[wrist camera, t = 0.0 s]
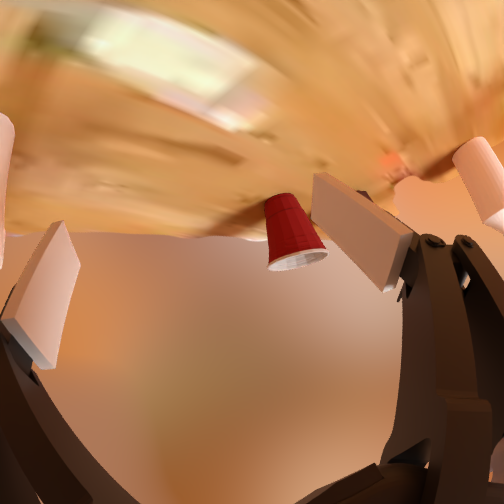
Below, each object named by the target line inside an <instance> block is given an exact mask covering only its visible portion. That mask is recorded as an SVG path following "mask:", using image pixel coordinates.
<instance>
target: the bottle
mask: <svg viewBox="0 0 504 504" xmlns="http://www.w3.org/2000/svg"><path fill="white" fill-rule="evenodd" d="M452 161H453V163H454V165H455V167H456V169H457V170H458V172H459V174H460V176H461V178H462V180H463V181H464V184H465V185H466V188H467V190H468V191H469V193H470V196H471V198H472V200H473V202H474V204H475V207H476V209H477V211H478V213H479V216H480V218H481V220H482V223H483V224H485V225H487V226H490V227H492V228H494V229H495V230H497V231H499V232H500V233H502V234H503V235H504V168H503V166H502V165H501V163H500V161H499V160H498V158H497V156H496V155H495V154H494V152H493V150H492V148H491V147H490V145H489V144H488V142H487V141H486V139H485V138H484V137H476V138H473V139H471V140H469V141H468V142H466V143H465V144H463V145H462V146H461V147H460V148H459V149H458V150H457V151H456V152H455V154H454V155H453V157H452Z"/></svg>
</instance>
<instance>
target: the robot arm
mask: <svg viewBox="0 0 504 504" xmlns="http://www.w3.org/2000/svg"><path fill="white" fill-rule="evenodd" d="M311 220H312V221H313V222H314V223H315V224H316V225H318V226H319V227H320V228H321V229H322V230H323V231H324V232H325V233H326V234H327V235H328V236H329V237H330V238H331V239H332V240H333V241H334V242H335V243H336V244H337V245H338V246H339V247H340V248H341V249H342V250H343V251H344V252H345V253H346V255H347V256H348V257H349V258H350V259H351V260H352V261H353V262H354V263H355V264H356V265H357V266H358V267H359V268H360V269H361V270H362V271H363V272H364V273H365V274H366V275H367V276H368V278H369V279H370V280H371V281H372V282H373V283H374V284H375V285H376V286H377V287H378V288H379V290H380V291H381V292H382V293H383V292H386V291H389V290H391V289H394V288H395V287H396V285H397V282H398V279H399V276H400V277H401V278H402V279H403V280H404V284H403V286H402V289H401V291H400V294H399V296H398V299H397V302H399V301H400V299H401V298H402V300H403V301H402V307H403V330H402V331H403V332H402V357H401V372H400V382H399V392H398V400H397V407H396V415H395V420H394V426H393V431H392V434H391V436H390V438H389V440H388V442H387V443H386V445H385V447H384V450H383V453H382V456H381V460H380V464H379V465H377V466H376V464H375V463H373V464H371V465H369V466H367V467H365V468H363V469H361V470H359V471H357V472H355V473H353V474H350V475H348V476H346V477H344V478H342V479H340V480H338V481H335V482H333V483H331V484H328V485H326V486H324V487H321V488H319V489H317V490H315V491H313V492H312V493H311V494H309V495H307V496H306V497H304V498H303V499H301V500H300V501H298V502H296V503H295V504H504V281H503V280H502V278H501V276H500V275H499V273H498V272H497V270H496V269H495V267H494V266H493V265H492V263H491V262H490V260H489V259H488V258H487V256H486V255H485V253H484V252H483V251H482V249H481V248H480V247H479V245H478V244H477V243H476V242H475V241H474V240H472V239H471V238H470V237H467V236H466V235H465V236H464V235H457V236H456V237H455V240H454V243H453V245H446V243H445V242H444V241H443V240H442V239H440V238H439V237H437V236H434V235H432V234H422V235H421V236H420V235H419V234H417V233H416V232H415V231H413V230H412V229H411V228H409V227H408V226H407V225H405V224H404V223H403V222H401V221H400V220H399V219H397V218H395V217H394V216H393V215H392V214H390V213H389V212H387V211H385V210H383V209H382V208H380V207H379V206H377V205H376V204H374V203H373V202H371V201H370V200H368V199H367V198H365V197H364V196H362V195H361V194H359V193H358V192H356V191H355V190H353V189H352V188H350V187H349V186H347V185H345V184H344V183H342V182H341V181H339V180H337V179H336V178H334V177H333V176H331V175H329V174H328V173H326V172H325V173H314V177H313V193H312V208H311ZM80 266H81V264H80V261H79V259H78V257H77V254H76V252H75V250H74V247H73V245H72V242H71V239H70V237H69V234H68V232H67V229H66V226H65V223H64V220H62V221H58V222H55V223H52V224H51V225H50V227H49V228H48V230H47V231H46V233H45V234H44V236H43V238H42V239H41V241H40V242H39V244H38V246H37V247H36V249H35V251H34V252H33V254H32V256H31V258H30V259H29V261H28V263H27V265H26V267H25V268H24V271H23V272H22V274H21V276H20V278H19V280H18V282H17V283H16V285H15V286H14V287H13V288H12V290H11V292H10V294H9V296H8V299H7V301H6V303H5V306H4V307H3V310H2V312H1V314H0V504H41V503H40V501H39V499H38V497H37V495H38V496H39V498H40V499H41V501H42V502H43V503H44V504H140V503H139V502H138V501H136V500H135V499H134V498H133V497H132V496H131V495H130V494H129V493H128V492H127V491H126V490H124V489H123V488H122V487H121V486H120V485H119V484H118V483H117V482H116V481H115V480H114V479H113V478H112V477H111V476H110V475H109V474H108V473H107V471H106V470H105V469H104V468H103V467H102V466H101V465H100V464H99V463H98V462H97V460H96V459H95V458H94V457H93V456H92V455H91V454H90V452H89V451H88V450H87V449H86V448H85V447H84V445H83V444H82V443H81V441H80V440H79V439H78V437H77V436H76V435H75V434H74V432H73V431H72V429H71V428H70V427H69V425H68V424H67V423H66V421H65V420H64V418H62V415H61V414H60V413H59V411H58V409H57V408H56V406H55V405H54V403H53V402H52V400H51V398H50V397H49V395H48V393H47V392H46V390H45V388H44V387H43V385H42V383H41V382H40V380H39V378H38V376H37V374H36V373H35V372H34V371H33V370H32V369H31V366H32V362H33V361H34V362H35V363H36V365H37V366H38V367H39V368H40V369H41V370H42V369H55V368H56V362H57V356H58V351H59V345H60V340H61V336H62V331H63V326H64V322H65V318H66V314H67V310H68V306H69V303H70V299H71V295H72V292H73V289H74V285H75V282H76V278H77V276H78V272H79V269H80ZM467 275H469V277H470V282H469V284H468V286H467V288H466V289H465V287H464V286H463V284H464V282H465V279H466V277H467ZM428 462H429V466H428V469H427V468H424V467H425V465H426V464H427V463H428ZM492 471H493V477H492V481H491V482H488V480H489V472H492ZM36 493H37V494H36Z"/></svg>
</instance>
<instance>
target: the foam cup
mask: <svg viewBox="0 0 504 504" xmlns="http://www.w3.org/2000/svg"><path fill="white" fill-rule="evenodd" d="M14 137H15V131H14V125H13V124H12V122H11V121H10V120H9V118H8V117H7V116H6V115H4V114H2V113H0V269H1V268H2V264H3V254H4V243H5V234H6V231H5V229H4V212H5V198H6V188H7V179H8V172H9V165H10V159H11V154H12V148H13V143H14Z"/></svg>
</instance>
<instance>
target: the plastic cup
mask: <svg viewBox="0 0 504 504" xmlns="http://www.w3.org/2000/svg"><path fill="white" fill-rule="evenodd" d="M264 207H265V209H264V211H265V217H266V229H267V237H268V245H269V264H268V266H267V269H268V270H269V271H283V270H284V271H285V270H291V269H295V268H300V267H304V266H308V265H311V264H313V263H316V262H319V261H321V260H323V259H325V258H326V257H328V256H329V255H330V253H329V251H328V250H327V249H326V248H325V246H324V245H323V243H322V242H321V240H320V238H319V236H318V235H317V233H316V231H315V230H314V228H313V226H312V224H311V222H310V221H309V219H308V217H307V215H306V213H305V212H304V210H303V209H302V208H301V206H300V204H299V202H298V201H297V199H296V198H295V197H294V195H292V194H290V193H283V194H278V195H276V196H273V197H272V198H270V199H268V200H267V202H266V203H265V206H264Z"/></svg>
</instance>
